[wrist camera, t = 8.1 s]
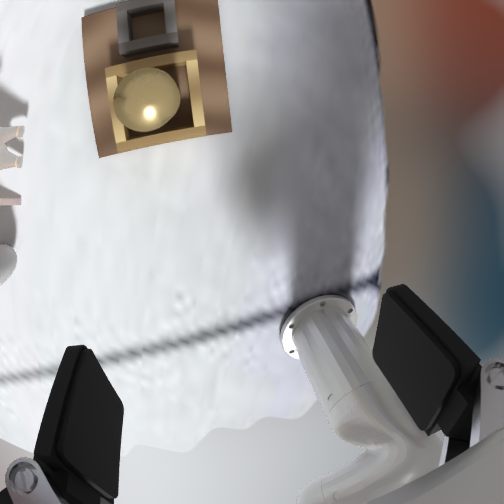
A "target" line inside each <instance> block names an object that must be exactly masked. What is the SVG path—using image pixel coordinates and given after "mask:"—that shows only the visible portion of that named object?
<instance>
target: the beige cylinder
mask: <svg viewBox="0 0 504 504" xmlns="http://www.w3.org/2000/svg"><path fill="white" fill-rule="evenodd" d="M180 104H181V95H180V91H179V89H178V87H177V85H176V83H175V81H174V80H173V78H172V77H171V76H170V75H169V74H168V73H166V72H165V71H163V70H160V69H157V68H151V67H148V68H141V69H137V70H135V71H133V72H131V73H129V74H128V75H127V76H125V77H124V78H123V79H122V80H121V82H120V83H119V85H118V86H117V88H116V90H115V93H114V98H113V107H114V111H115V114H116V116H117V118H118V119H119V121H120V122H121V123H122V124H123V125H124V126H126V127H127V128H129V129H132V130H134V131H140V132H147V131H152V130H155V129H158V128H160V127H161V126H163V125H164V124H166V123H167V122H168V121H169V120H170V119H171V118H172V117H173V116H174V115H175V114H176V113H177V111H178V109H179V107H180Z"/></svg>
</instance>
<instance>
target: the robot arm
mask: <svg viewBox="0 0 504 504" xmlns="http://www.w3.org/2000/svg"><path fill="white" fill-rule="evenodd" d="M356 323H357V313H356V310H355V308H354V306H353V305H352V304H351V302H350V301H349V300H347V299H346V298H344V297H342V296H338V295H324V296H319V297H316V298H313V299H311V300H309V301H307V302H305V303H303V304H302V305H300V306H299V307H298V308H296V309H295V310H294V311H293V312H292V313H291V314H290V315H289V317H288V318H287V319H286V321H285V323H284V324H283V326H282V329H281V334H280V340H281V344H282V346H283V349H284V350H285V352H286V353H287V354H288V355H290V356H291V357H293V358H295V359H300V361H301V363H302V366H303V368H304V370H305V372H306V374H307V376H308V379H309V381H310V383H311V385H312V387H313V390H314V392H315V394H316V396H317V398H318V400H319V403H320V405H321V407H322V409H323V411H324V413H325V416H326V418H327V420H328V422H329V424H330V426H331V428H332V430H333V431H334V433H335V434H336V435H337V436H338V437H339V438H341V439H342V440H344V441H346V442H348V443H350V444H353V445H356V446H360V447H364V448H367V450H366V452H365V453H363V454H362V455H360V456H359V457H357V458H356V459H354V460H352V461H350V462H349V463H347V464H345V465H343V466H341V467H339V468H337V469H335V470H333V471H331V472H329V473H326V474H324V475H323V476H321V477H318V478H316V479H315V480H313V481H311V482H309V483H307V484H306V485H305V486H304V487H303V488H302V489H301V490H300V491H299V493H298V496H297V499H296V504H504V360H501V359H491V360H488V361H487V362H485V363H484V364H483V366H481V365H480V364H479V362H480V360H481V359H480V358H479V357H478V356H477V355H476V354H475V353H474V352H473V351H472V350H471V349H470V348H469V347H468V346H467V345H466V344H465V343H464V342H463V341H462V339H461V338H460V337H458V335H457V334H456V333H455V332H454V331H453V330H452V329H451V328H450V327H449V326H448V325H447V324H446V323H445V322H444V321H442V319H441V318H440V317H439V316H438V315H437V314H436V313H435V312H434V311H433V310H432V309H430V308H429V307H428V306H427V305H426V304H425V303H424V302H423V301H422V300H421V299H420V298H419V297H418V296H417V295H416V294H415V293H414V292H413V291H411V290H410V289H409V288H408V287H407V286H406V285H404V284H401V285H397V286H394V287H390V288H388V289H387V291H386V293H385V294H384V295H383V297H382V302H381V309H380V315H379V321H378V327H377V331H376V337H375V342H374V347H373V350H372V349H371V348H370V346H369V345H368V343H367V342H366V341H365V339H364V338H363V336H362V335H361V333H360V332H359V331H358V329H357V328H356ZM123 415H124V407H123V404H122V401H121V400H120V398H119V396H118V395H117V393H116V391H115V390H114V388H113V387H112V385H111V383H110V381H109V380H108V378H107V376H106V375H105V373H104V371H103V369H102V368H101V366H100V364H99V362H98V360H97V358H96V357H95V355H94V353H93V351H92V350H91V349H87V347H86V346H85V345H76V346H68V347H67V348H66V350H65V353H64V355H63V358H62V361H61V363H60V366H59V369H58V372H57V375H56V378H55V380H54V383H53V386H52V389H51V393H50V396H49V399H48V402H47V405H46V409H45V412H44V415H43V419H42V422H41V426H40V430H39V433H38V437H37V441H36V445H35V449H34V458H33V459H31V458H27V457H22V458H18V459H16V460H14V461H13V462H12V463H11V464H10V465H9V467H8V468H7V472H6V475H5V483H6V488H5V489H3V490H2V491H1V492H0V504H114V498H117V496H118V484H119V462H120V448H121V436H122V425H123ZM439 430H442V431H443V433H444V441H443V442H442V441H441V440H440V438H439V437H438V436H437V435H436V434H435V433H436V432H437V431H439Z"/></svg>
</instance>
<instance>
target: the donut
mask: <svg viewBox="0 0 504 504" xmlns="http://www.w3.org/2000/svg"><path fill="white" fill-rule="evenodd" d="M16 263H17V255H16V252H15V251H14V249H13V248H11V247H10V246H9V245H6V244H1V245H0V286H1V285H2V284H3V283H4V282H5V281H6V280H7V279H8V278H9V277H10V276H11V274H12V272H13V271H14V269H15V267H16Z"/></svg>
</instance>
